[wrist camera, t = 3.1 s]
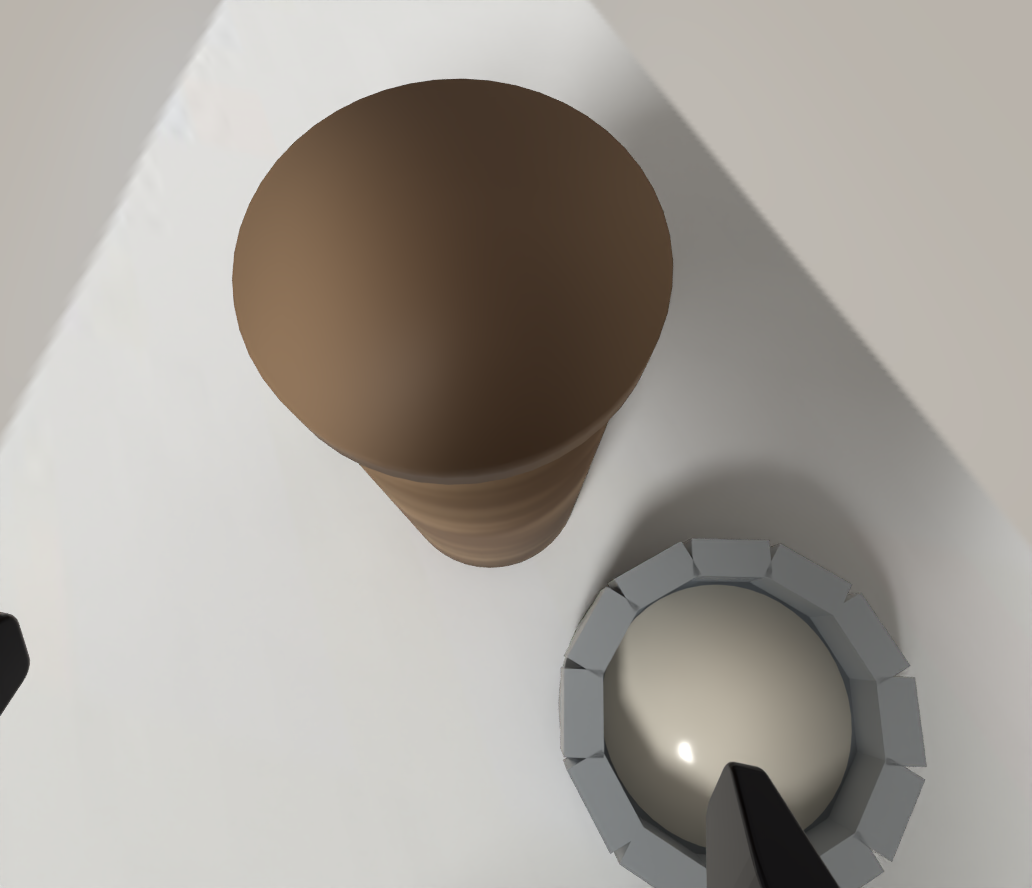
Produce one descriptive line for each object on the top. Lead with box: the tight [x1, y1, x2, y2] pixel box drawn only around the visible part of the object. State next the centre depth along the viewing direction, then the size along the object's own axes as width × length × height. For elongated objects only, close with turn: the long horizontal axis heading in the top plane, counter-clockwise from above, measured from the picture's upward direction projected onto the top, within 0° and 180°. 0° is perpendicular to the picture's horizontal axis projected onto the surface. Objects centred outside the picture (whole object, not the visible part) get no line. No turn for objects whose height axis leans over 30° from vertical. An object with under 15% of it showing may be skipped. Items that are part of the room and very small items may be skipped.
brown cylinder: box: [232, 79, 673, 568], centre depth 15 cm, size 6×6×13 cm
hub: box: [559, 538, 927, 888], centre depth 18 cm, size 9×9×2 cm
